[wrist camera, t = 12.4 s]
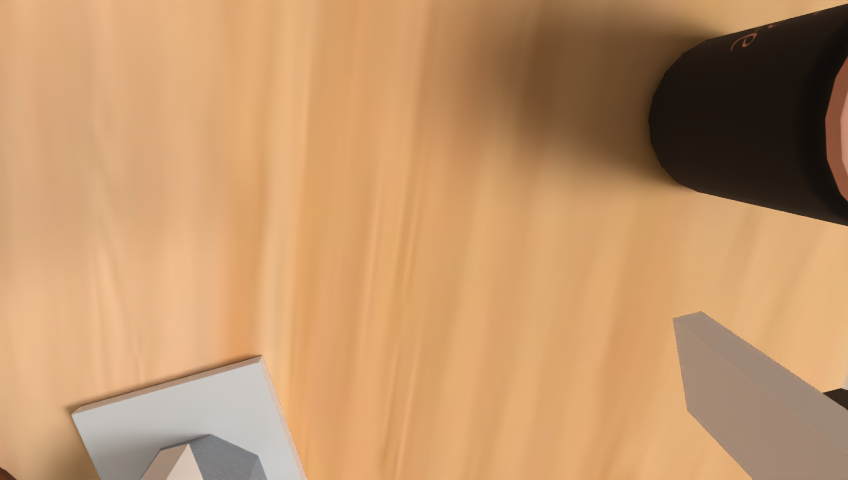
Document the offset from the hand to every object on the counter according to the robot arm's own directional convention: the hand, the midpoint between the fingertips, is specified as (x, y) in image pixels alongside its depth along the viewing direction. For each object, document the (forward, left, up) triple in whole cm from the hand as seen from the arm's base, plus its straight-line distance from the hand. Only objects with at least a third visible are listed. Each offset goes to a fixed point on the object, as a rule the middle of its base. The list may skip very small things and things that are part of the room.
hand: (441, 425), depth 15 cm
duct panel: (+15, -20, -26) cm, 36 cm away
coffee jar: (-2, +23, -26) cm, 35 cm away
